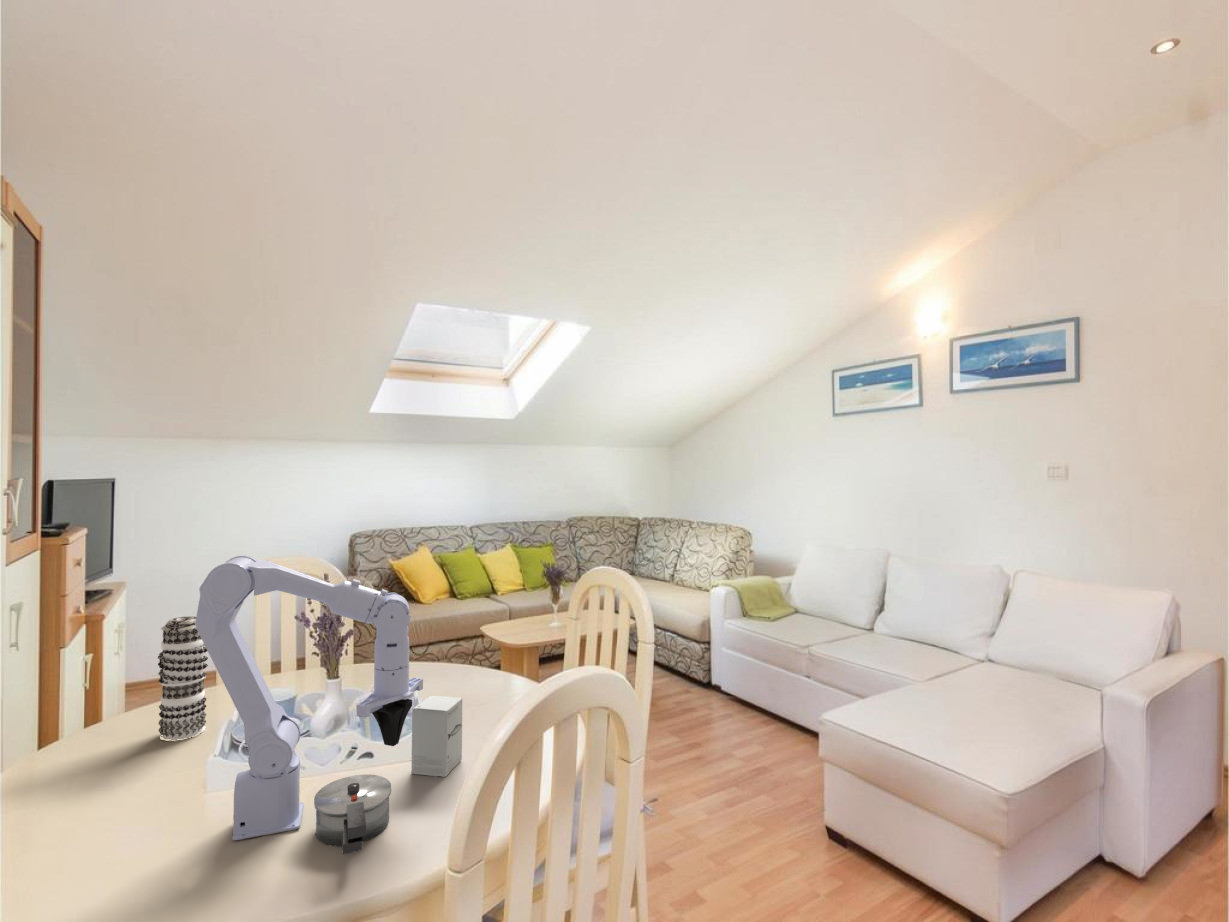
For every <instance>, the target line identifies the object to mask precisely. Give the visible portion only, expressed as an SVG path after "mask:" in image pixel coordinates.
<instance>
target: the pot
mask: <svg viewBox="0 0 1229 922" xmlns="http://www.w3.org/2000/svg"><path fill="white" fill-rule="evenodd" d="M315 815H316V816H315V835H316V837H315V838H316V839H317V841H319V843H322V844H323V845H326V846H329V845H331V847H342V855H346V854H347V855H348V854H351V853H357V852H361V851H362V852H363V843H365V842H367V841H370V840H372V839H374V838H376V837H377V836H379V835H380V834H382V833H383V832H384V831H385V830H386V828H387V827H388V825H389V824H390V797H389V798H388V799H387V800H386V801H385V802H383V803H382V804H381V805H379V806H377V807H376V808H373V809H371V810H369V811H366V812H365V820H366V836H362V837H358V838H353V839H349V840H348V830H347V816H329V815H325V814H322V813H320V812H318V811H317V810H316V809H315Z"/></svg>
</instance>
